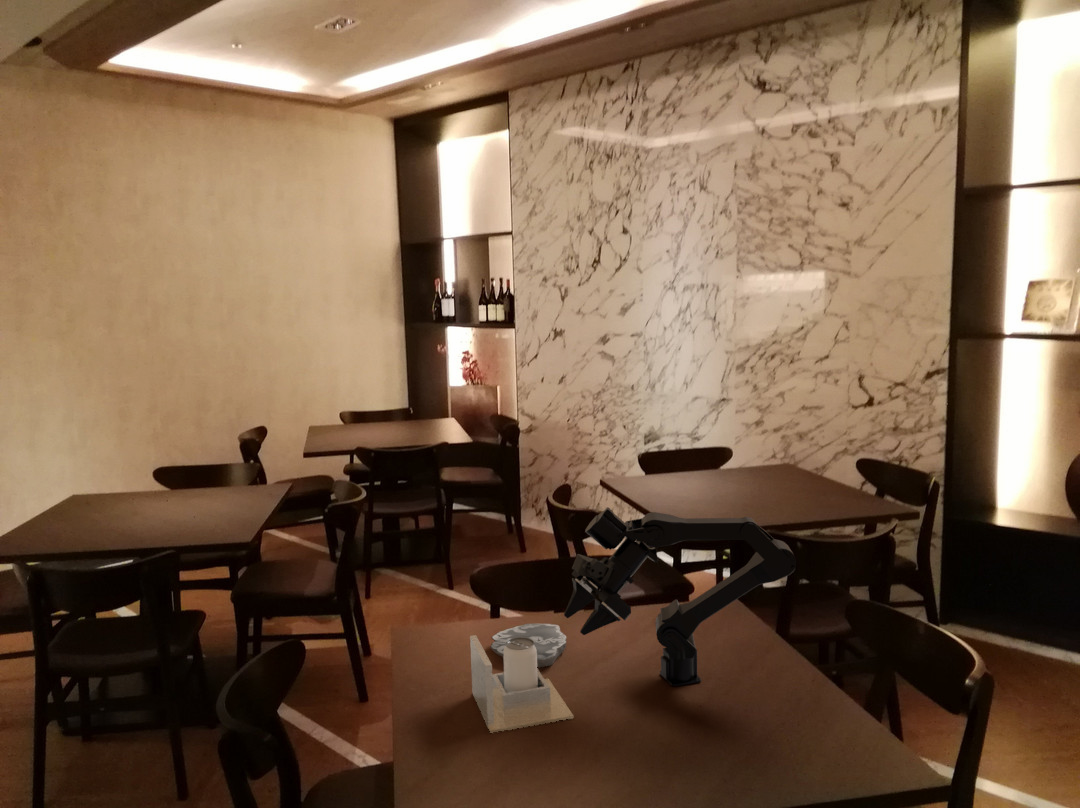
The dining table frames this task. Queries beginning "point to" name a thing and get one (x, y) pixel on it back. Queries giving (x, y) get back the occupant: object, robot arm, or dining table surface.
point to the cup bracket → (512, 697)
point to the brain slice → (544, 637)
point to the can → (520, 664)
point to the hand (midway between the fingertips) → (573, 624)
